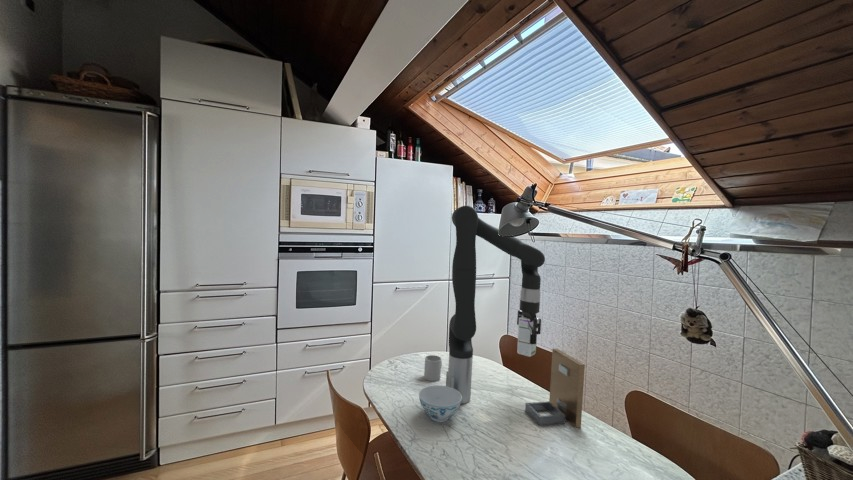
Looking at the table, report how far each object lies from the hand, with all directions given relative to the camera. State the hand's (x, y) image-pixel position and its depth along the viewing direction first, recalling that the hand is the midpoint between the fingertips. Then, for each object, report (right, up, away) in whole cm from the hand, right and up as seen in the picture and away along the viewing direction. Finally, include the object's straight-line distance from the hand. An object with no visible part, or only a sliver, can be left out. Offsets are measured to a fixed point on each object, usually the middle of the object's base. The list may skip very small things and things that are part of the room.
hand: (527, 340), depth 134 cm
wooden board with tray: (+5, -24, -11) cm, 27 cm away
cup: (-37, -22, +17) cm, 46 cm away
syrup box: (0, -5, 0) cm, 5 cm away
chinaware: (-36, -23, -15) cm, 45 cm away
